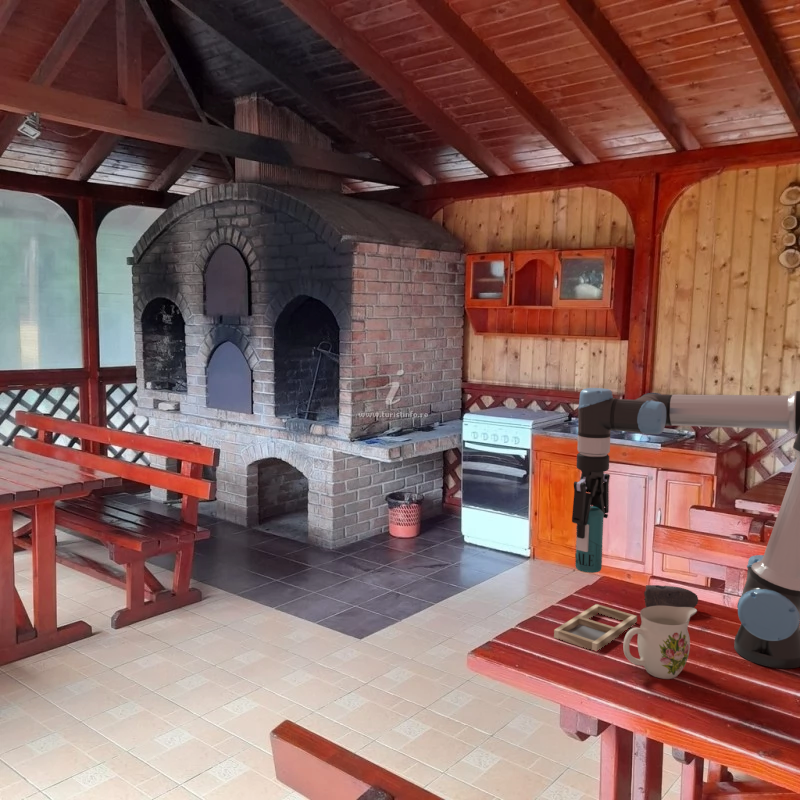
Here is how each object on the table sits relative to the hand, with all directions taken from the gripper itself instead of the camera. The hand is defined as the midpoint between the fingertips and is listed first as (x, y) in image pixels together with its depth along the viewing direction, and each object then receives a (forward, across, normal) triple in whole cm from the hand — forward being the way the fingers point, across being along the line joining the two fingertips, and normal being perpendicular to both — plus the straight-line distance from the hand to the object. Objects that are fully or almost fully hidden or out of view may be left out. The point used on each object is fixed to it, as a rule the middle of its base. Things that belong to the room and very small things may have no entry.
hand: (589, 546), depth 181 cm
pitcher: (+23, +5, +20) cm, 31 cm away
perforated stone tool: (+23, -30, +9) cm, 39 cm away
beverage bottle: (+7, 0, 0) cm, 7 cm away
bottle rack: (+23, -5, 0) cm, 24 cm away
